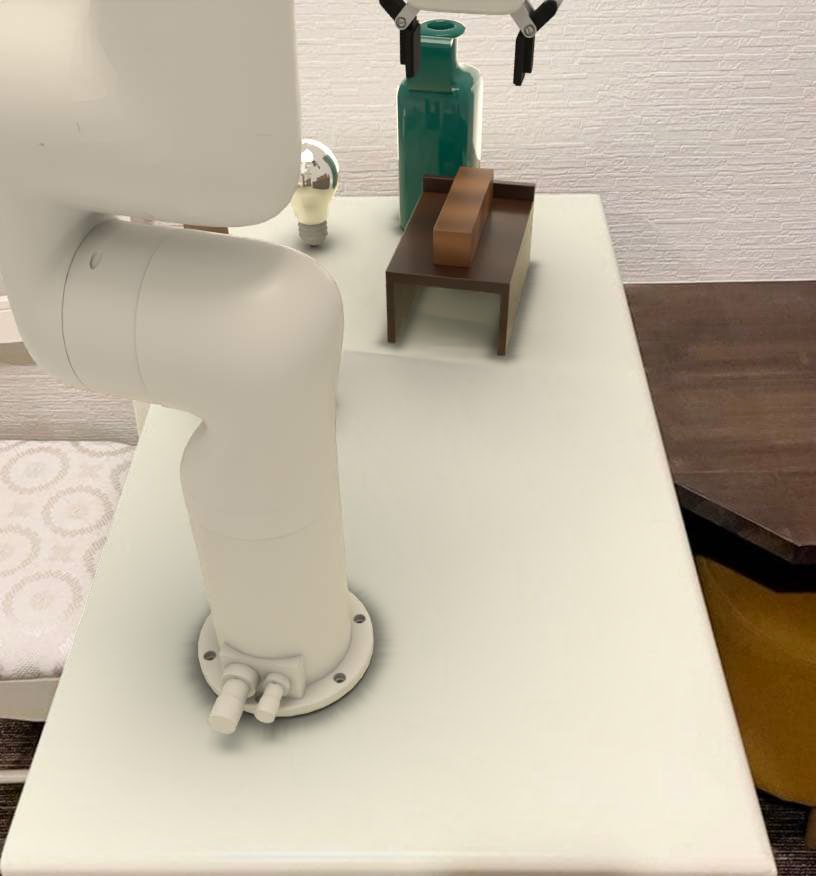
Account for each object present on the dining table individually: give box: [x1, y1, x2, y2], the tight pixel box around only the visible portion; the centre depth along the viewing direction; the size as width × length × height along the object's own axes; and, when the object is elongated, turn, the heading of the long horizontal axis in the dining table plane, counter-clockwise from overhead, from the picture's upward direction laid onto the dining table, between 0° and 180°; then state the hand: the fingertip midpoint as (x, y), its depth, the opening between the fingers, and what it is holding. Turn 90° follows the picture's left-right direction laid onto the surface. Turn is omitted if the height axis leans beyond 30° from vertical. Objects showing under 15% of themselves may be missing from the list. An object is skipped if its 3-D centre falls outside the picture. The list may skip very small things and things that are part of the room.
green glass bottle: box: [396, 18, 484, 230], centre depth 110 cm, size 10×8×22 cm
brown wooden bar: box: [433, 166, 495, 268], centre depth 98 cm, size 14×4×4 cm, turn 168°
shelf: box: [385, 174, 536, 356], centre depth 102 cm, size 18×12×10 cm, turn 168°
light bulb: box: [289, 138, 341, 248], centre depth 110 cm, size 7×7×12 cm
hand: (465, 77), depth 88 cm, fingers open, 9 cm apart
